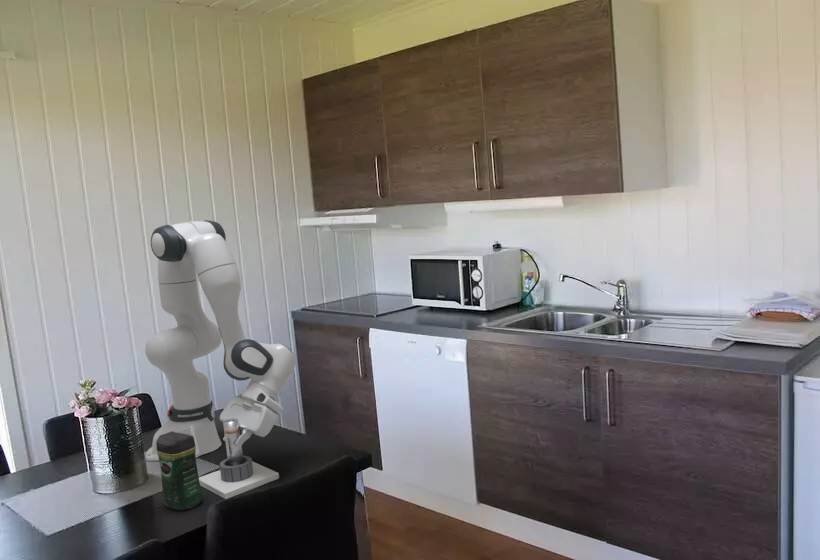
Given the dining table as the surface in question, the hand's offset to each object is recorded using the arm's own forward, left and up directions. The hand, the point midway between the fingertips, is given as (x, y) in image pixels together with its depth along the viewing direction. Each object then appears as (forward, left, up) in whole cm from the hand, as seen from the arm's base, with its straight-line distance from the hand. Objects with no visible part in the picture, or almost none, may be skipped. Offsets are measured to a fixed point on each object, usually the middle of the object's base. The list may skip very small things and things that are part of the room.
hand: (231, 443), depth 188 cm
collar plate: (0, 0, -11) cm, 11 cm away
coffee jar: (-12, -11, -11) cm, 19 cm away
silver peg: (0, 0, -8) cm, 8 cm away
